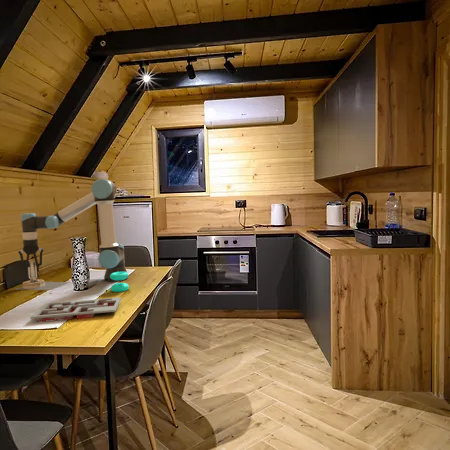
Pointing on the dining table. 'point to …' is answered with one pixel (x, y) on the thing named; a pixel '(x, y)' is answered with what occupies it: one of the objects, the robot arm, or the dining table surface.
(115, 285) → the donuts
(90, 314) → the maze game
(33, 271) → the peg
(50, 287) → the board
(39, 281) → the tan faceted ring
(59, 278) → the dining table surface
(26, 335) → the dining table surface
